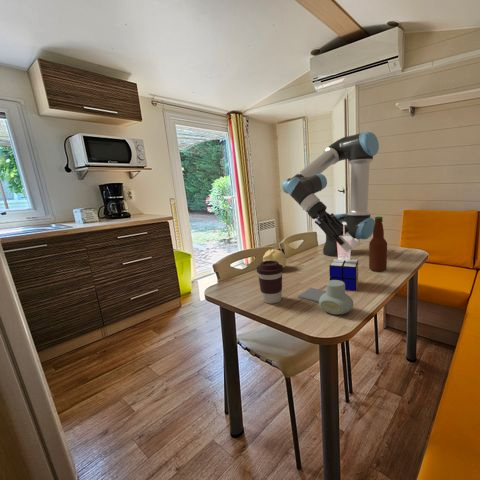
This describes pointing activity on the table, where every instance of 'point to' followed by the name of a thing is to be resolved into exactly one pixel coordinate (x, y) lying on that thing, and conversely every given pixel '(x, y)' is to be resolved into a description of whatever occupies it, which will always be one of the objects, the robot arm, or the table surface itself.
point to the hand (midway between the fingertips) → (353, 248)
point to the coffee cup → (270, 281)
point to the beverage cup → (341, 252)
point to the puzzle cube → (345, 272)
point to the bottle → (378, 248)
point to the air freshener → (336, 298)
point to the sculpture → (275, 256)
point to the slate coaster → (312, 294)
